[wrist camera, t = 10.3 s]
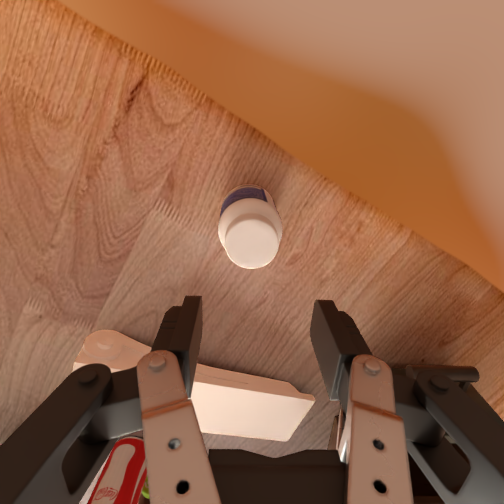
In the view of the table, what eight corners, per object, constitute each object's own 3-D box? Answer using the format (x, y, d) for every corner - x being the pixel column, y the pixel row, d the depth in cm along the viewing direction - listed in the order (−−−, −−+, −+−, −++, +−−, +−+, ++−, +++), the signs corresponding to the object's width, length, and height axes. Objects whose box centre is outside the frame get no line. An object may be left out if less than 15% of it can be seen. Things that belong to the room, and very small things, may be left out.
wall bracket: (297, 357, 45) (97, 315, 36) (320, 389, 38) (78, 346, 29) (274, 415, 46) (75, 388, 37) (291, 456, 39) (52, 434, 31)
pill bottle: (210, 212, 30) (199, 247, 22) (246, 171, 28) (248, 192, 20) (250, 244, 31) (254, 289, 23) (286, 208, 30) (303, 241, 22)
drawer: (363, 335, 35) (399, 398, 27) (472, 337, 36) (538, 400, 28) (335, 443, 43) (357, 517, 35) (425, 444, 44) (467, 517, 36)
